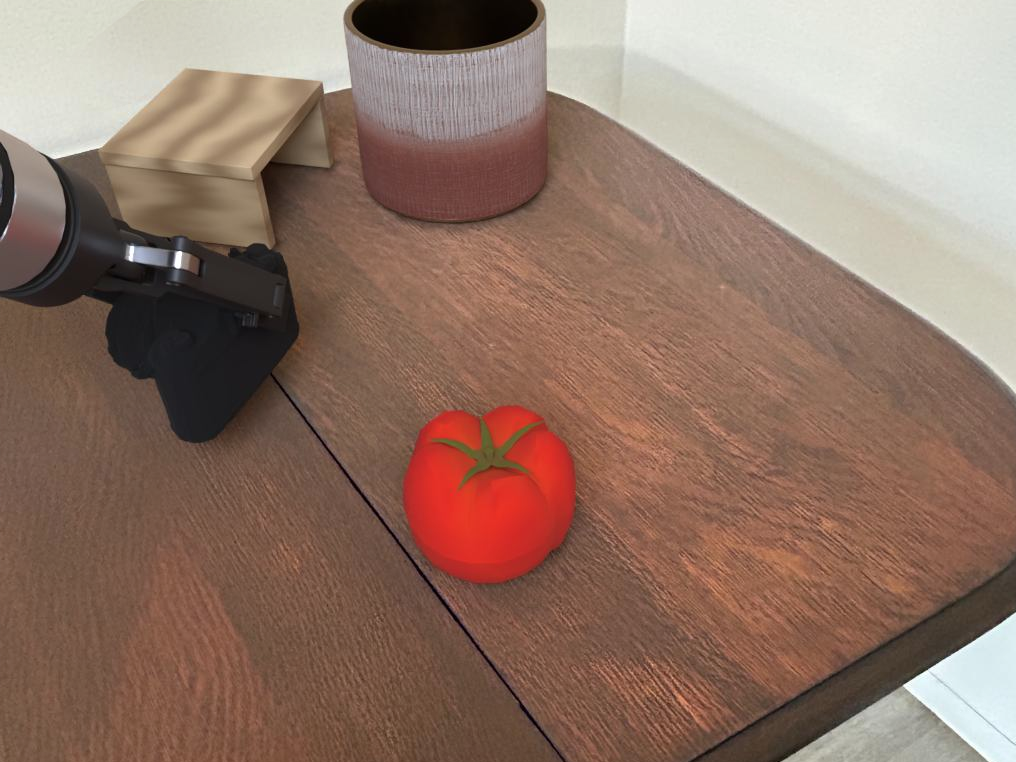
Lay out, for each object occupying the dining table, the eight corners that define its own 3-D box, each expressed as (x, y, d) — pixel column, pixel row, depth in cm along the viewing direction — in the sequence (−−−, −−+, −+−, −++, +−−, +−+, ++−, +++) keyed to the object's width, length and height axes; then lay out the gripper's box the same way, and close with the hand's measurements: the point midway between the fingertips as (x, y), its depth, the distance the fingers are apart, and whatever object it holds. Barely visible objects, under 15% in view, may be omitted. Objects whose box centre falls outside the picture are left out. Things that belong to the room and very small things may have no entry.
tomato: (394, 601, 64) (377, 500, 57) (433, 470, 72) (422, 367, 65) (562, 619, 63) (565, 518, 56) (583, 484, 71) (588, 382, 64)
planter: (379, 137, 106) (358, -28, 94) (550, 140, 105) (551, -26, 93) (350, 229, 94) (323, 53, 82) (544, 232, 93) (544, 56, 82)
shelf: (125, 234, 93) (97, 150, 87) (205, 147, 104) (185, 67, 98) (269, 252, 91) (250, 167, 85) (335, 161, 102) (322, 80, 96)
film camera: (205, 303, 80) (175, 197, 73) (316, 328, 77) (296, 221, 71) (86, 425, 70) (38, 316, 63) (209, 458, 68) (174, 347, 61)
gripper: (-204, 266, 52) (61, 335, 74) (205, 323, 49) (355, 378, 71) (-188, 118, 52) (74, 232, 74) (226, 167, 49) (371, 270, 71)
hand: (212, 304), depth 73 cm, fingers closed on film camera, 10 cm apart
